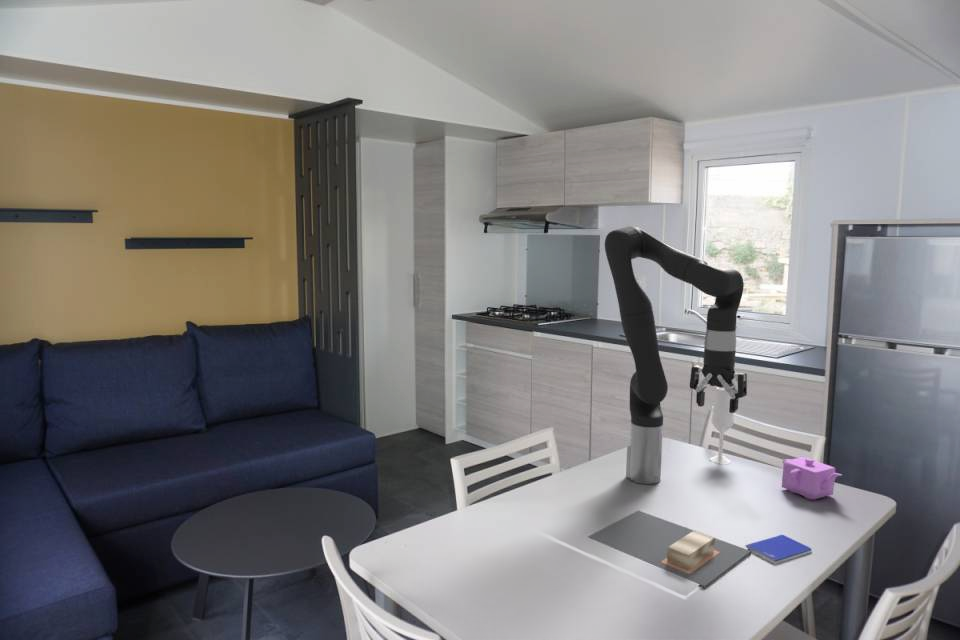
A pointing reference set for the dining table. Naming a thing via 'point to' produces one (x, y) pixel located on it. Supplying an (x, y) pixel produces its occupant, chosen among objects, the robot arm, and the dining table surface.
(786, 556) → the hard drive
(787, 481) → the teapot
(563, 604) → the dining table surface
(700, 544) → the cream block
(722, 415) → the champagne flute
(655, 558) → the rubber mat
